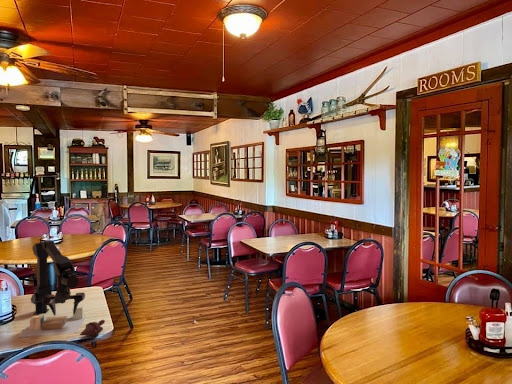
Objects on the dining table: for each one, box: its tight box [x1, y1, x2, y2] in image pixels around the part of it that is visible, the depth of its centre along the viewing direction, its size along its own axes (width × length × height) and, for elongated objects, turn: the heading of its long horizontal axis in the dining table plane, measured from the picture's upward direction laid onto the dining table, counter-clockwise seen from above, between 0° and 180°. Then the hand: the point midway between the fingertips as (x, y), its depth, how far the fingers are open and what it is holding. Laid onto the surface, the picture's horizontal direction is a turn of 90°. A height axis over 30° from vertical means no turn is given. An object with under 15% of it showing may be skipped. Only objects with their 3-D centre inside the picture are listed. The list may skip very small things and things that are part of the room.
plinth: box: [42, 315, 67, 330], centre depth 193 cm, size 9×9×3 cm
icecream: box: [79, 319, 106, 338], centre depth 182 cm, size 7×7×15 cm
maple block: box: [29, 314, 45, 330], centre depth 191 cm, size 5×5×5 cm
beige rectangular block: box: [72, 304, 84, 320], centre depth 203 cm, size 4×4×6 cm
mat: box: [17, 314, 88, 339], centre depth 194 cm, size 22×26×1 cm
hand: (64, 314), depth 193 cm, fingers open, 9 cm apart
